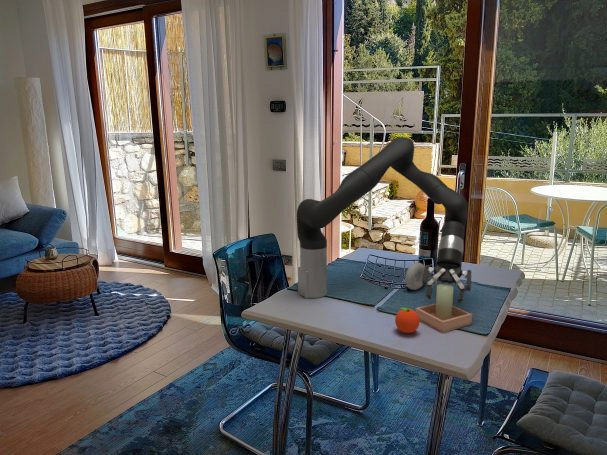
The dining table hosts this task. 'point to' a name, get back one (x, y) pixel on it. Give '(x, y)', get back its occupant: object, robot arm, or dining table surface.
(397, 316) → the clementine
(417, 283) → the donut
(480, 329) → the dining table surface
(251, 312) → the dining table surface
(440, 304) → the pale green cylinder
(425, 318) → the dish
